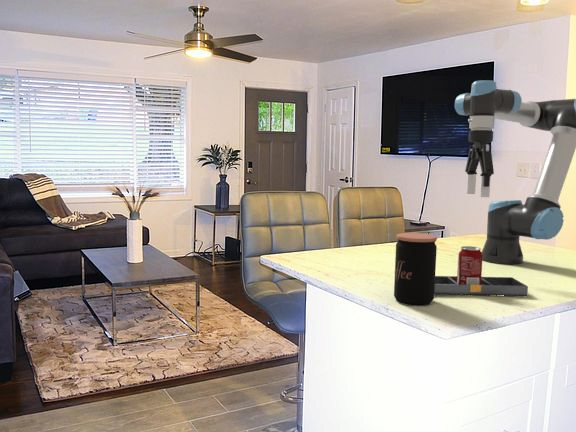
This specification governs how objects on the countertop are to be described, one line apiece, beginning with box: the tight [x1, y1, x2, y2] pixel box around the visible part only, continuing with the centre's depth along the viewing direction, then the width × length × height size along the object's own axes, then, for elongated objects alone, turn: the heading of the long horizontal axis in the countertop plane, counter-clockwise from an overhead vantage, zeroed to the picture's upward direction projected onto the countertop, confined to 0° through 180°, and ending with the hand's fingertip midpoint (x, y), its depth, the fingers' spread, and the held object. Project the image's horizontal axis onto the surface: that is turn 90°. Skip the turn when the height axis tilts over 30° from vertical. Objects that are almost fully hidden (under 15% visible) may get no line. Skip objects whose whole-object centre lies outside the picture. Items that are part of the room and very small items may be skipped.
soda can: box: [456, 245, 483, 285], centre depth 163 cm, size 7×7×12 cm
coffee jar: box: [393, 232, 438, 307], centre depth 150 cm, size 11×11×18 cm
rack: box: [434, 275, 529, 297], centre depth 163 cm, size 30×12×3 cm, turn 90°
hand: (477, 195), depth 182 cm, fingers open, 13 cm apart
